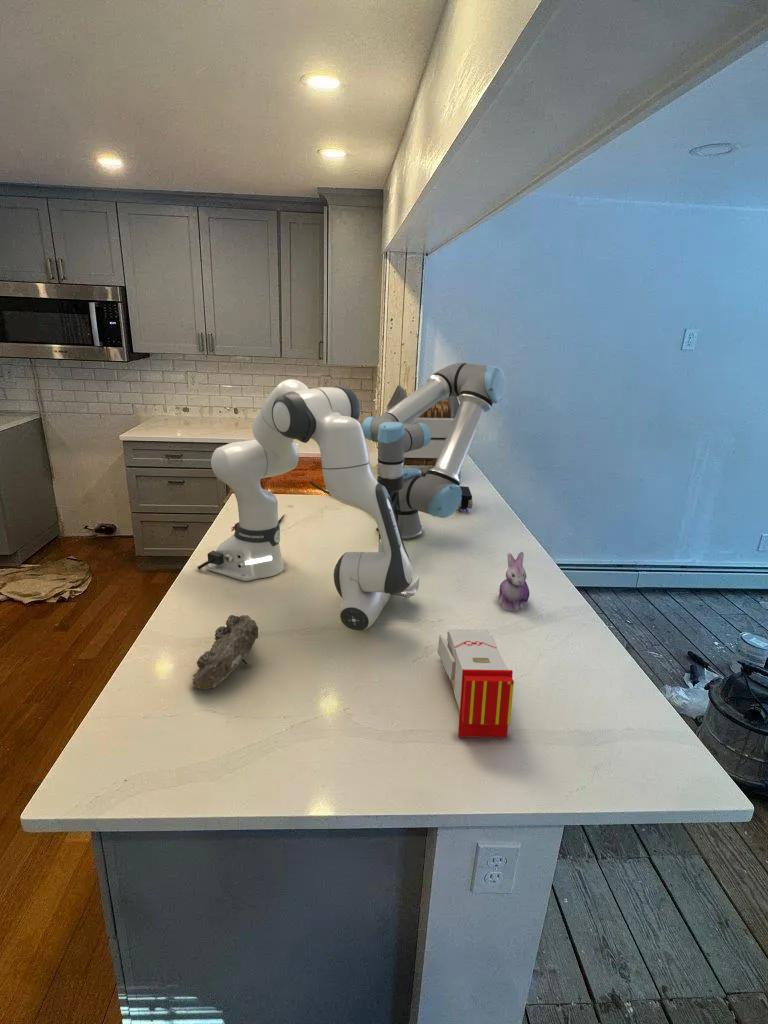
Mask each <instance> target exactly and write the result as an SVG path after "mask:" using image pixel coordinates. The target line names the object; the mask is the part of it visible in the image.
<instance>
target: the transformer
mask: <svg viewBox="0 0 768 1024" xmlns="http://www.w3.org/2000/svg"><path fill="white" fill-rule="evenodd" d="M407 394H408V393H407V390H406V389H404V388H403V387H402V385H399V384H398V385H397V386H396V388H395V390H394V392H393V394H392V395H391V398H390V400H389V402H388V404H387V405H386V412H387V411H388V410H389V409H391V408H392V407H393V406H395V405H396V404H398V403H399V402H400V401H402V400H403V399H404V398H406V397H407V396H408V395H407ZM459 406H460V401H459V399H458V397H449V398H447V399H446V400H444V401H438V402H437V403H436V404H434V405H433V406H432V407H430V408H429V409H428V410H426V411H425V412H424V413H422V414H421V415H420V416H419V417H417V418H416V419H415V420H413V421H412V422H411V423H409V424H414V423H423V424H425V425H427V426H428V428H429V429H430V432H431V440H430V442H429V444H428V445H426V446H424V447H422V448H420V449H416V450H412V451H409V452H406V453H404V455H403V468H405V466H406V467H407V466H411V467H412V466H413V467H415V466H416V467H417V466H418V467H434V466H435V464H436V461H437V459H438V456H439V454H440V452H441V449H442V447H443V444H444V442H445V439H446V437H447V435H448V432H449V430H450V427H451V425H452V423H453V420H454V418H455V415H456V413H457V411H458V408H459ZM461 472H462V470H461V471H460V473H459V475H458V479H459V481H460V482H461Z"/></svg>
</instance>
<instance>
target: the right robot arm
mask: <svg viewBox="0 0 768 1024" xmlns="http://www.w3.org/2000/svg"><path fill="white" fill-rule="evenodd" d="M505 393H506V376H505V374H504V372H503V370H502V369H501V368H500V367H498V366H493V365H490V364H487V365H485V364H476V363H467V362H456V363H453V364H450V365H447V366H445V367H443V368H441V369H439V370H437V371H436V372H434V373H433V374H431V375H430V376H429V377H427V379H426V382H425V383H424V384H422V385H421V386H420V387H418V388H417V389H415V390H414V391H413V392H411V393H410V394H409V395H407V397H406V398H404V399H403V400H402V401H400V402H399V403H398V404H396V405H395V406H393V407H392V408H391V409H389V410H388V411H387V410H386V411H385V412H384V413H383V414H381V415H380V416H375V415H374V416H368V417H366V418H365V419H364V420H363V422H362V424H361V427H362V430H363V433H364V437H365V440H369V441H372V442H373V443H377V463H375V467H377V477H376V480H377V482H378V483H379V484H381V485H383V486H385V488H386V489H387V491H388V494H389V496H390V499H391V502H392V505H393V508H394V512H395V515H396V519H397V522H398V526H399V529H400V533H401V536H402V540H403V541H410V540H415V539H418V538H420V537H421V536H422V535H423V525H422V524H421V518H420V515H419V512H420V513H423V514H426V515H430V516H432V517H437V518H441V519H445V518H449V517H450V516H452V515H453V514H454V513H455V512H456V511H457V509H459V508H458V506H459V504H460V502H461V498H462V497H461V495H462V490H461V488H460V487H459V486H461V485H460V484H461V480H460V481H459V479H458V475H459V473H460V471H461V472H462V468H463V465H464V463H465V460H466V458H467V456H468V453H469V452H470V451H469V450H471V446H472V443H473V441H474V439H475V437H476V434H477V431H478V429H479V426H480V424H481V421H482V419H483V417H484V414H485V413H487V412H490V411H491V409H492V406H493V404H498V403H500V402H501V401H502V400H503V398H504V395H505ZM449 397H457V398H458V402H459V405H460V406H459V408H458V411H457V413H456V415H455V418H454V420H453V423H452V425H451V427H450V430H449V432H448V435H447V437H446V439H445V442H444V444H443V447H442V449H441V452H440V454H439V456H438V459H437V461H436V464H435V466H432V468H429V469H427V471H426V473H425V476H423V475H422V470H421V469H420V468H416V467H404V468H403V455H404V453H406V452H409V451H412V450H416V449H420V448H422V447H424V446H426V445H428V444H429V442H430V440H431V432H430V429H429V428H428V426H427V425H425V424H423V423H414V424H409V423H411V422H412V421H413V420H415V419H416V418H417V417H419V416H420V415H421V414H422V413H424V412H425V411H426V410H428V409H429V408H430V407H432V406H433V405H434V404H436V403H437V402H438V401H444V400H446V399H447V398H449ZM309 484H310V485H312V486H313V487H314V488H316V489H317V490H320V491H321V492H323V493H324V494H327V495H329V496H330V497H331V496H332V495H331V494H330V493H329V492H328V491H327V489H324V488H322V487H320V486H319V485H317V484H316V483H314V482H313V481H311V480H309ZM332 497H333V496H332ZM375 530H376V532H378V541H379V540H380V539H381V536H380V533H379V529H378V527H376V528H375Z"/></svg>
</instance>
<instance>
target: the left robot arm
mask: <svg viewBox="0 0 768 1024" xmlns="http://www.w3.org/2000/svg"><path fill="white" fill-rule="evenodd" d="M360 415H361V405H360V400H359V398H358V396H357V394H356V393H355V392H354V391H353V390H352V389H350V388H347V387H345V386H336V385H334V386H331V387H329V386H319V387H318V386H317V387H312V388H309V387H308V386H307V385H306V384H305V383H303V382H302V381H301V380H298V379H291V378H289V379H285V380H283V381H281V382H279V383H278V384H277V386H276V387H275V388H274V389H273V390H271V392H270V393H269V395H268V396H267V398H266V399H265V401H264V403H263V404H262V406H261V408H260V409H259V411H258V413H257V415H256V417H255V418H254V421H253V422H252V434H253V437H254V439H249V440H248V439H247V440H242V441H234V442H233V441H232V442H229V443H227V444H223V445H221V446H219V447H216V448H215V450H214V451H213V452H212V455H211V458H210V466H211V467H210V468H211V470H212V472H213V475H214V477H216V478H217V479H218V480H219V481H220V482H222V483H224V484H225V485H227V486H228V487H229V488H230V489H231V491H232V492H233V494H234V497H235V499H236V504H237V512H238V522H236V523H235V524H234V525H233V526H232V527H231V528H230V531H231V532H233V531H234V533H233V534H231V536H229V537H228V538H227V539H225V540H224V541H222V542H221V543H220V544H219V545H218V547H217V548H216V550H212V551H209V552H207V554H206V555H207V561H205V562H204V563H201V564H200V565H198V566H197V567H196V568H197V569H198V570H201V569H202V568H205V567H206V566H207V570H208V571H211V572H214V573H217V574H220V575H223V576H227V577H229V578H233V579H237V580H238V581H239V580H240V581H242V582H249V581H254V580H257V579H265V578H271V577H273V576H277V575H279V574H281V573H282V572H283V571H284V570H285V567H286V566H285V562H284V560H283V556H282V551H281V545H280V541H281V526H280V525H281V524H279V522H278V521H279V504H278V503H279V502H278V499H277V496H276V495H275V494H274V493H273V492H271V491H270V490H268V489H266V488H262V486H261V485H262V484H261V479H266V478H272V477H277V476H281V475H284V474H286V473H289V472H291V471H293V470H294V469H296V468H297V466H298V463H299V460H300V452H299V449H298V446H297V444H296V443H295V442H294V440H297V441H299V442H301V443H304V444H308V442H310V440H311V439H312V440H313V441H315V443H316V445H318V448H319V452H320V463H321V470H322V478H323V483H324V487H325V488H326V489H325V490H326V491H328V492H329V493H330V494H331V495H332V497H333V498H334V500H337V501H338V502H340V503H342V504H344V505H347V506H350V507H353V508H356V509H359V510H361V511H364V512H365V513H367V514H368V515H369V516H371V517H372V518H373V520H374V521H375V524H376V526H377V528H378V529H379V531H378V534H379V533H380V536H381V540H382V543H383V547H384V550H385V552H379V551H346V552H344V553H343V554H342V555H341V556H340V557H339V559H338V560H337V561H336V564H335V566H334V570H333V583H334V586H335V589H336V591H337V593H338V595H339V597H340V598H341V605H340V609H339V619H340V622H341V623H342V624H343V625H344V626H345V627H346V628H347V629H349V630H352V631H356V632H357V631H358V632H361V631H365V630H367V629H368V628H370V627H371V626H372V625H373V624H374V623H375V622H376V620H377V619H378V618H379V616H380V614H381V612H382V610H383V608H384V607H385V606H386V604H387V603H388V601H389V599H390V597H391V596H393V597H398V598H404V599H407V598H411V597H414V596H415V594H416V592H417V591H418V589H419V586H420V577H419V576H418V575H416V574H413V573H414V571H413V566H412V562H411V559H410V556H409V555H408V552H407V550H406V547H405V544H404V540H402V536H401V533H400V529H399V526H398V522H397V519H396V515H395V512H394V508H393V505H392V502H391V499H390V496H389V494H388V491H387V489H386V488H385V486H383V485H381V484H379V483H378V482H377V478H376V477H375V475H374V473H373V471H372V468H371V463H370V456H369V450H368V444H367V441H366V440H367V439H366V438H365V437H364V433H363V430H362V424H361V423H360V422H359V421H358V420H359V418H360ZM331 495H330V496H331Z"/></svg>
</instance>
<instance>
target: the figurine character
mask: <svg viewBox="0 0 768 1024" xmlns="http://www.w3.org/2000/svg"><path fill="white" fill-rule="evenodd" d="M459 487H460V488H461V490H462V495H461V497H462V498H461V502H460V504H459V506H458V508H457V509H458V512H459V513H462V511H465V512H466V513H469V510H468V509H470V510H471V509H473V507H474V503H473V502H474V501H473V495H472V492H471V489H470V486H463V485H459Z"/></svg>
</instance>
